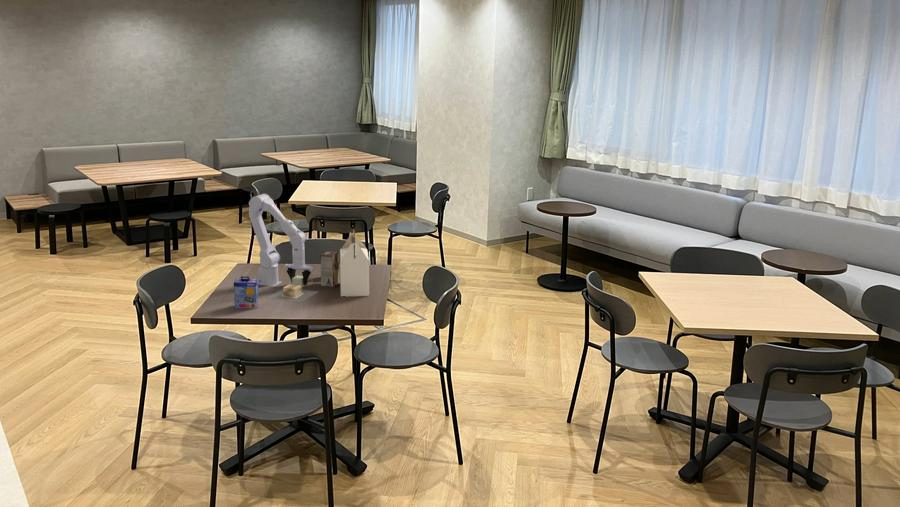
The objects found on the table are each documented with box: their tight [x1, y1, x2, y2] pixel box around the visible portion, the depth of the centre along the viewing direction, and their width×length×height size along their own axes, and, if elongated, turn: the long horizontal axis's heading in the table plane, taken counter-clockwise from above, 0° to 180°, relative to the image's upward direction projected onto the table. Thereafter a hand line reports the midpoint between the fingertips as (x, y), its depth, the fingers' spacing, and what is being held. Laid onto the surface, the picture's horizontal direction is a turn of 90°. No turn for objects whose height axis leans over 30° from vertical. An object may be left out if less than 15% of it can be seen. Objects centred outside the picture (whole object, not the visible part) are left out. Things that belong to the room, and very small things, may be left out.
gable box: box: [339, 229, 370, 297], centre depth 355 cm, size 22×13×28 cm, turn 8°
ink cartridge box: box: [233, 275, 260, 309], centre depth 328 cm, size 10×6×14 cm, turn 95°
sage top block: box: [291, 275, 307, 289], centre depth 360 cm, size 5×5×5 cm
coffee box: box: [320, 250, 340, 288], centre depth 363 cm, size 9×6×16 cm
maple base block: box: [282, 283, 302, 297], centre depth 345 cm, size 6×6×4 cm
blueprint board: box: [265, 288, 319, 304], centre depth 346 cm, size 18×18×1 cm
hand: (299, 284), depth 360 cm, fingers open, 6 cm apart
